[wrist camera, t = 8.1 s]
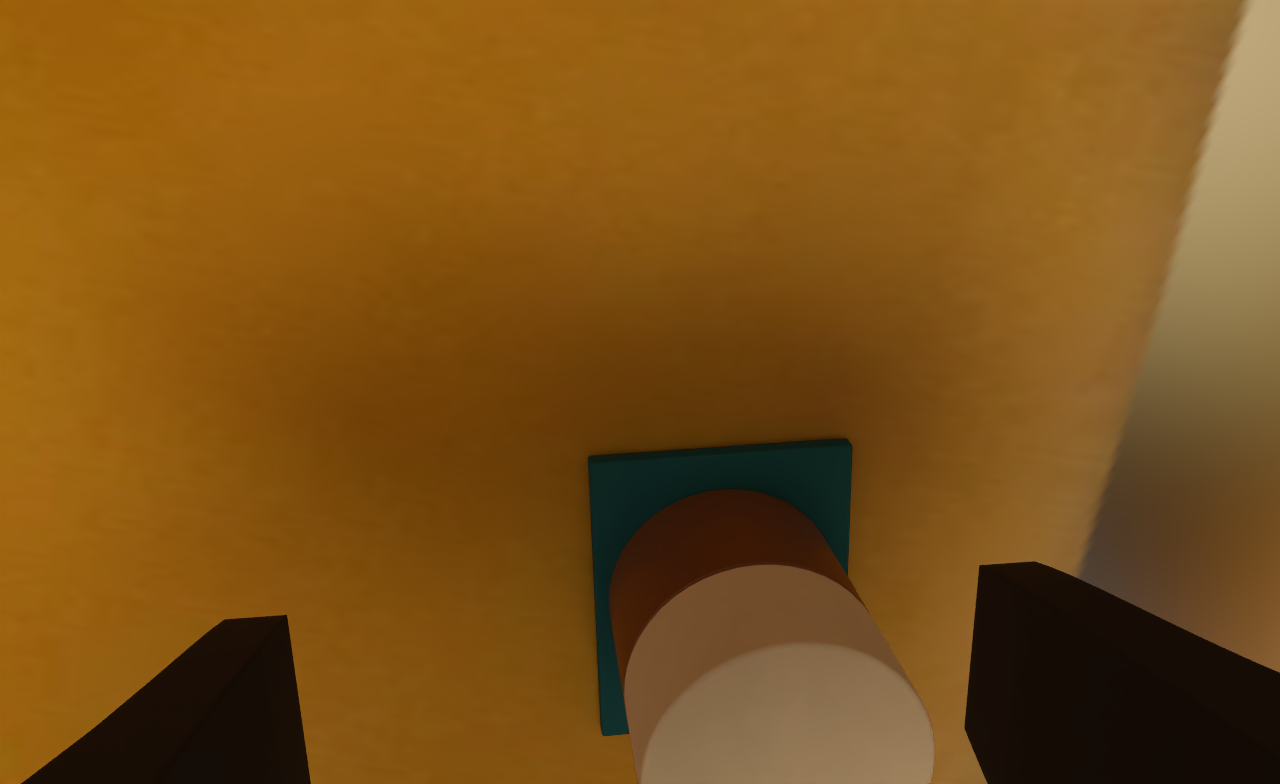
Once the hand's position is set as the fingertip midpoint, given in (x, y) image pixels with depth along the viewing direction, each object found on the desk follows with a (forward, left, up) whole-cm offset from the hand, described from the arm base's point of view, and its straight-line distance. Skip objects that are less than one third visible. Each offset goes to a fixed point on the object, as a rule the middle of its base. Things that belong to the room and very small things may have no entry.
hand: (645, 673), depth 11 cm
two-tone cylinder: (-4, -2, -9) cm, 10 cm away
